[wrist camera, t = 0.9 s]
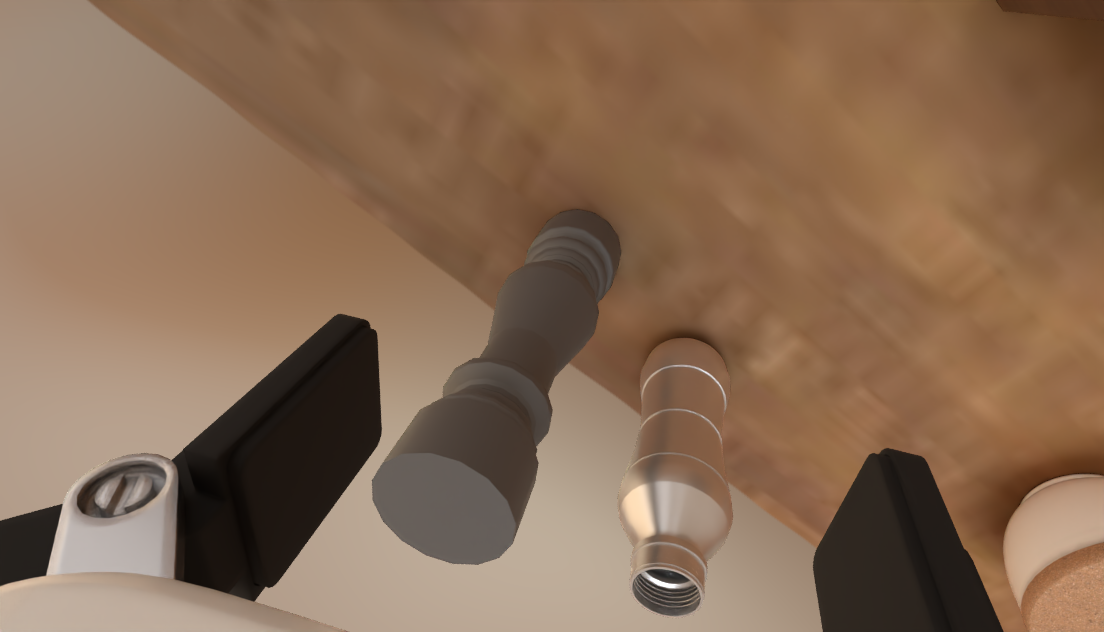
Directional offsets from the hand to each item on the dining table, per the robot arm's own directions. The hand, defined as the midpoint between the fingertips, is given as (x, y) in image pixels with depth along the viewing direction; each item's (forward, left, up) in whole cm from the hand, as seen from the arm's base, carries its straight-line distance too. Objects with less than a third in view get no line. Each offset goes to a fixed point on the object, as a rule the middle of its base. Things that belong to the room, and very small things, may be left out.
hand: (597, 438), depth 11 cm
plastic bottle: (+17, +5, -31) cm, 35 cm away
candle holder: (+10, -5, -31) cm, 33 cm away
